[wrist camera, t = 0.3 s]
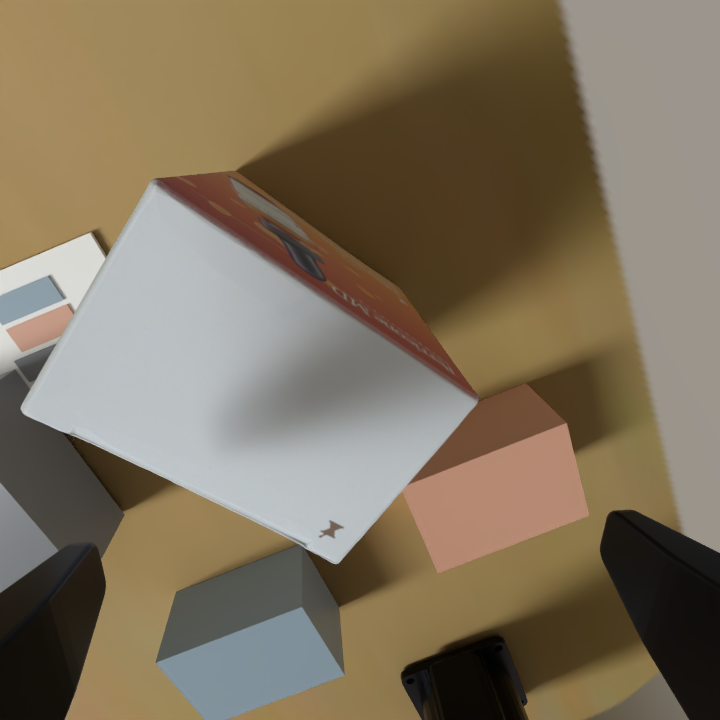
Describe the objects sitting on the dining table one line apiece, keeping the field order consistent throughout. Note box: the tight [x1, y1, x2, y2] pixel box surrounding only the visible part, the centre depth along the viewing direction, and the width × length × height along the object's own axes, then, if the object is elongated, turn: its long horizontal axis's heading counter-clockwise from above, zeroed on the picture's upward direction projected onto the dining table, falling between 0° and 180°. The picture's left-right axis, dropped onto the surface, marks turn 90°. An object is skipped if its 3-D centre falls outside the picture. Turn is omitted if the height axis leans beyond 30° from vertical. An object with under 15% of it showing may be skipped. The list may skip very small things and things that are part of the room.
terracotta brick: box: [402, 383, 589, 573], centre depth 22 cm, size 5×7×4 cm
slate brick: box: [156, 545, 345, 720], centre depth 24 cm, size 5×7×4 cm
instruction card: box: [0, 232, 107, 389], centre depth 19 cm, size 5×7×1 cm
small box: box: [21, 171, 479, 564], centre depth 15 cm, size 8×6×10 cm
